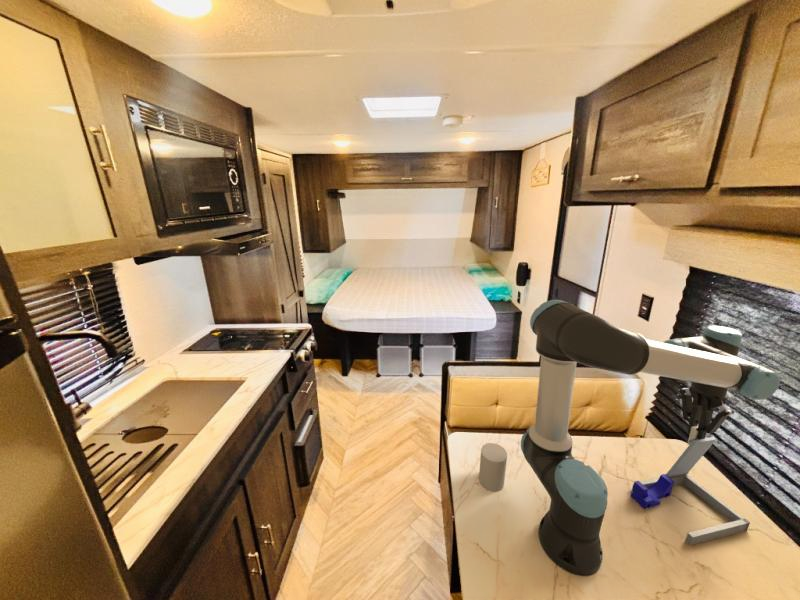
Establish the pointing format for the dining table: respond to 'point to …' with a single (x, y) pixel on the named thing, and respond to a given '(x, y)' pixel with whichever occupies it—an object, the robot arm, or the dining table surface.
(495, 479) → the gray solid cylinder
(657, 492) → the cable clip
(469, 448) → the dining table surface
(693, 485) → the gray u-shaped frame
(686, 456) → the cover
